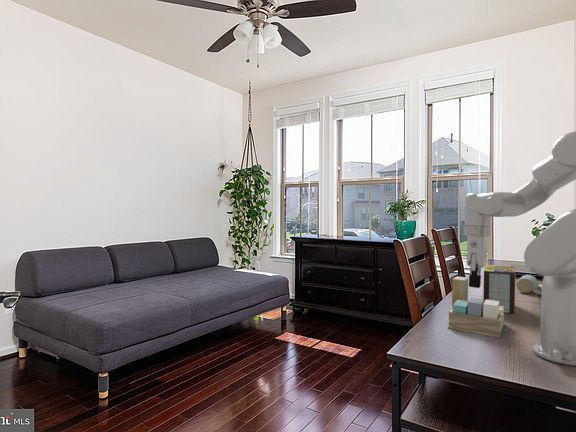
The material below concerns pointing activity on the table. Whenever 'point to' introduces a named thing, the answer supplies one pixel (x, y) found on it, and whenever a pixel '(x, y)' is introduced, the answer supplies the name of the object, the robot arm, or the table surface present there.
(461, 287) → the skincare box
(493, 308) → the white rectangular block
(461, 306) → the teal key
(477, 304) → the slate key
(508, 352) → the table surface
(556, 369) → the table surface
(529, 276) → the ceramic mug
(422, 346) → the table surface
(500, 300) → the protein box
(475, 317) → the tan wooden box
